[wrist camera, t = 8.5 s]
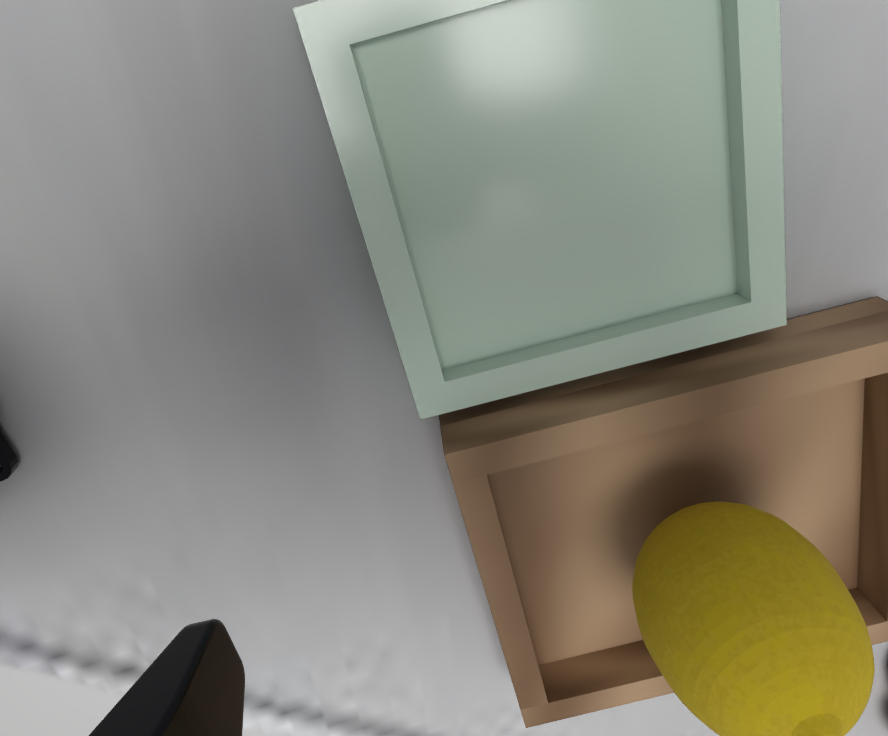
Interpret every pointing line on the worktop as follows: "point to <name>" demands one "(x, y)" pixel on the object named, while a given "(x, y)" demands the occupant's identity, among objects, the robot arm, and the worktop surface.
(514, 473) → the tray
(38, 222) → the worktop surface
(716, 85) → the dish
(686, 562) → the lemon
